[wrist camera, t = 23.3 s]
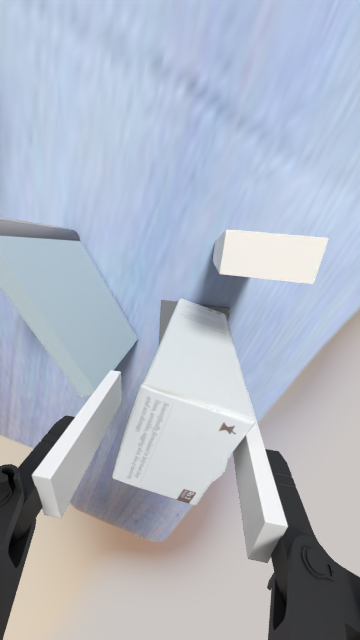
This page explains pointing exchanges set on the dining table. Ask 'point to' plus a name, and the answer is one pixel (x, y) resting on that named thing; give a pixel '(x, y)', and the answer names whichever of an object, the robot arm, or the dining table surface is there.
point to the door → (64, 301)
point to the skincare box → (186, 409)
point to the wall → (264, 255)
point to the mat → (168, 311)
